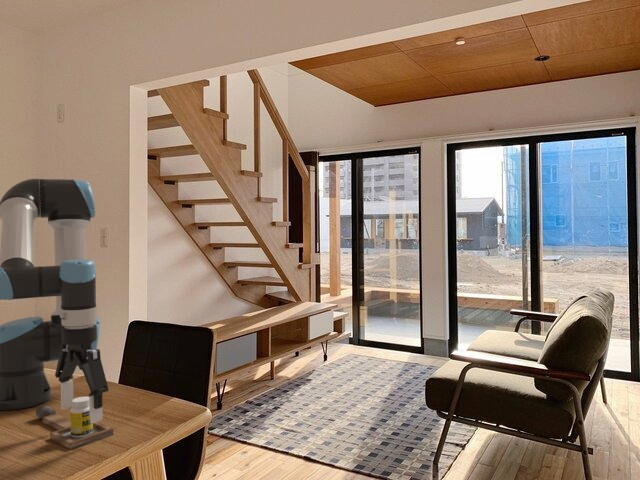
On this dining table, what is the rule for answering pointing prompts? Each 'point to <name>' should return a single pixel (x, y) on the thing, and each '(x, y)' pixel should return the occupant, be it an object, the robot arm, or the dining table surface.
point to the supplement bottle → (80, 418)
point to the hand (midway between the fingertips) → (81, 414)
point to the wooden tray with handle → (64, 429)
